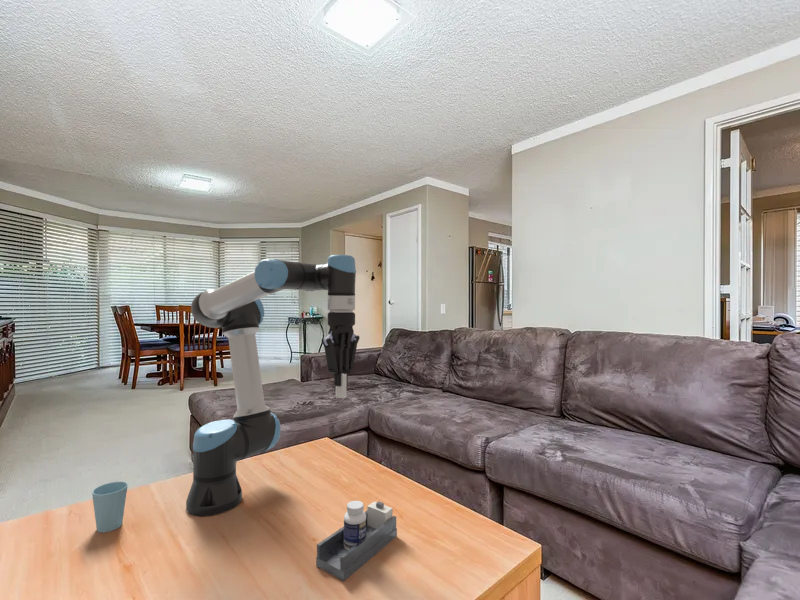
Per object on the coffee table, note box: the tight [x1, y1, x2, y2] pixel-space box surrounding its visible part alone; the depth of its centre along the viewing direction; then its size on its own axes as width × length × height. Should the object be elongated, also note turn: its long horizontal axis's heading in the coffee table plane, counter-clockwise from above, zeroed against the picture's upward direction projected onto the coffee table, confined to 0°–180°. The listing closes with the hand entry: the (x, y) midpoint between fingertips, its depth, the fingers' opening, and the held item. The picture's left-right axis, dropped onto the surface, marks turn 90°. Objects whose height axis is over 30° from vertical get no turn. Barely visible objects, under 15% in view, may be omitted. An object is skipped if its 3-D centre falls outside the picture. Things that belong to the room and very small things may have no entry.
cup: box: [91, 481, 129, 533], centre depth 105 cm, size 8×8×10 cm
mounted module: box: [366, 501, 394, 529], centre depth 102 cm, size 6×3×6 cm, turn 55°
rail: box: [315, 510, 398, 582], centre depth 95 cm, size 8×20×5 cm, turn 145°
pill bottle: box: [343, 500, 366, 550], centre depth 94 cm, size 5×5×10 cm
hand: (340, 397), depth 107 cm, fingers closed
